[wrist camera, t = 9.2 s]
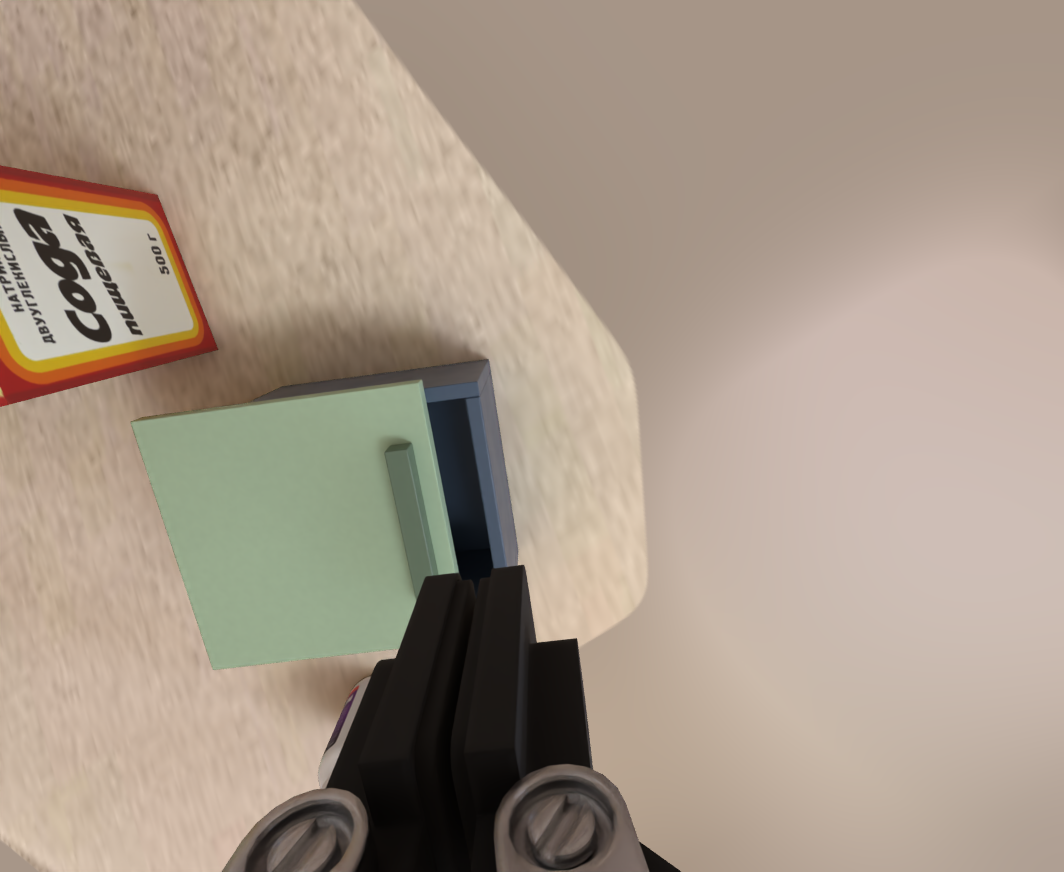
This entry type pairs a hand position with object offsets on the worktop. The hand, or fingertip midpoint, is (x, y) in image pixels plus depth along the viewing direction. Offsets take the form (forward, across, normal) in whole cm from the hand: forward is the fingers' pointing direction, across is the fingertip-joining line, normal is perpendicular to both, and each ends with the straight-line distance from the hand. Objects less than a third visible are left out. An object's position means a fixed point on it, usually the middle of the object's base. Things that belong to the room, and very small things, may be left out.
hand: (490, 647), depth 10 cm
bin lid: (+22, +12, +6) cm, 26 cm away
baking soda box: (+29, +23, -8) cm, 38 cm away
